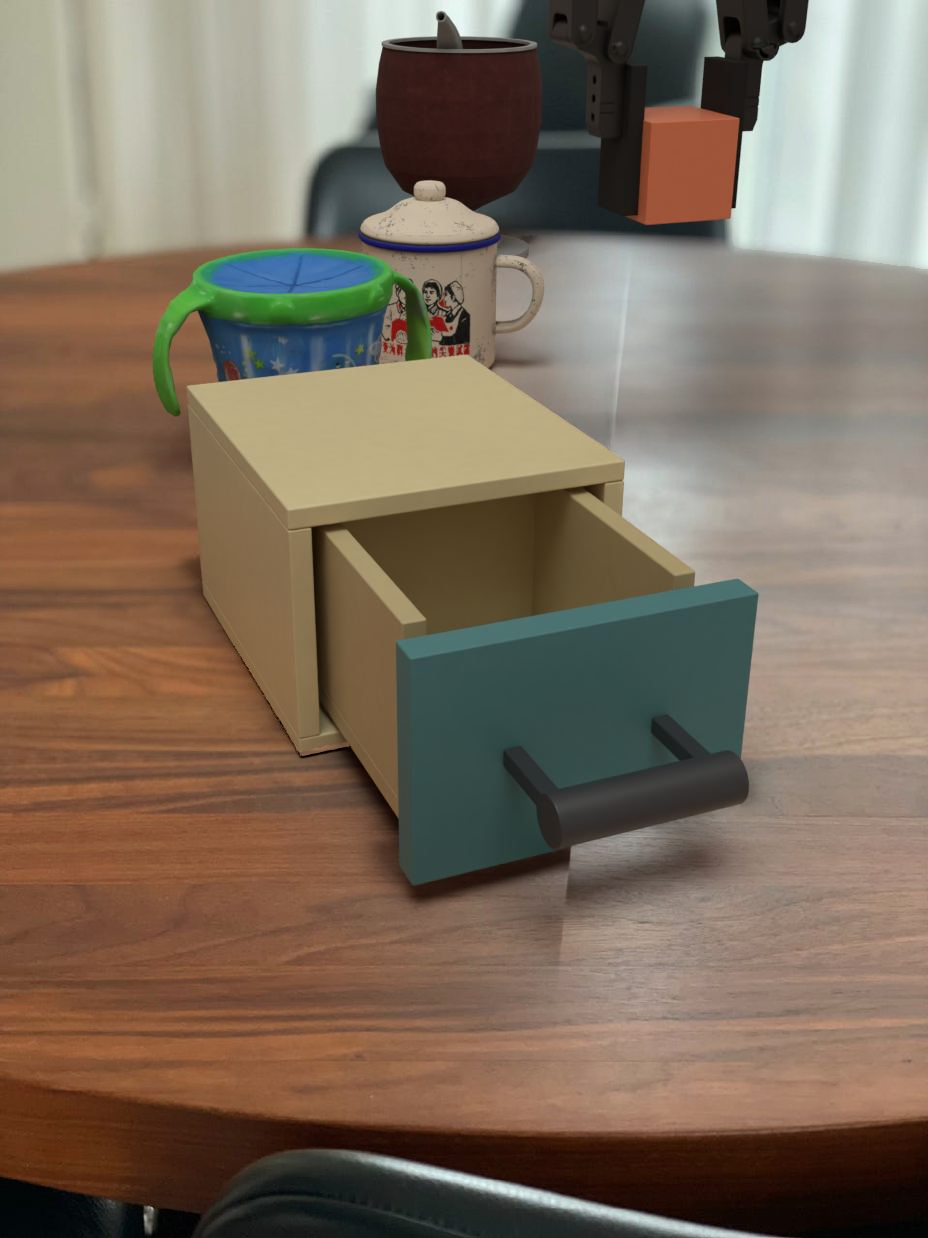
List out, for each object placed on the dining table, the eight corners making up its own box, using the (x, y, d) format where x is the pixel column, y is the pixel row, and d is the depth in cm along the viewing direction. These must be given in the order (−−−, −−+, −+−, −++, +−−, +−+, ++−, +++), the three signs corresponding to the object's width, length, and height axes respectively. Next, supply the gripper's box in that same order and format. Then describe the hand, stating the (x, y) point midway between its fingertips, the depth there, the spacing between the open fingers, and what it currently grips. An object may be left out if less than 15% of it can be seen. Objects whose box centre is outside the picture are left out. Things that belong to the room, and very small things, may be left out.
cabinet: (612, 693, 56) (626, 459, 52) (300, 758, 52) (287, 509, 48) (466, 552, 68) (467, 353, 64) (202, 595, 64) (185, 384, 60)
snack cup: (186, 504, 73) (169, 305, 69) (141, 440, 82) (123, 259, 78) (468, 463, 79) (469, 277, 74) (398, 407, 88) (395, 237, 83)
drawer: (813, 880, 44) (844, 653, 41) (467, 975, 40) (470, 732, 37) (555, 634, 59) (563, 452, 55) (284, 685, 55) (274, 492, 51)
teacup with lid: (345, 378, 93) (340, 191, 88) (380, 340, 101) (377, 167, 96) (530, 390, 91) (535, 200, 86) (551, 351, 99) (557, 175, 94)
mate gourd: (396, 233, 134) (394, -3, 125) (546, 239, 132) (554, 0, 123) (357, 270, 120) (351, 8, 111) (524, 278, 118) (531, 12, 109)
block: (683, 201, 72) (691, 105, 69) (731, 218, 68) (740, 117, 66) (601, 206, 70) (606, 108, 68) (645, 225, 66) (651, 122, 64)
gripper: (837, -358, 64) (781, 183, 75) (471, -388, 59) (465, 203, 69) (946, -384, 58) (868, 209, 68) (548, -421, 52) (529, 234, 63)
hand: (666, 205), depth 69 cm, fingers closed on block, 4 cm apart
